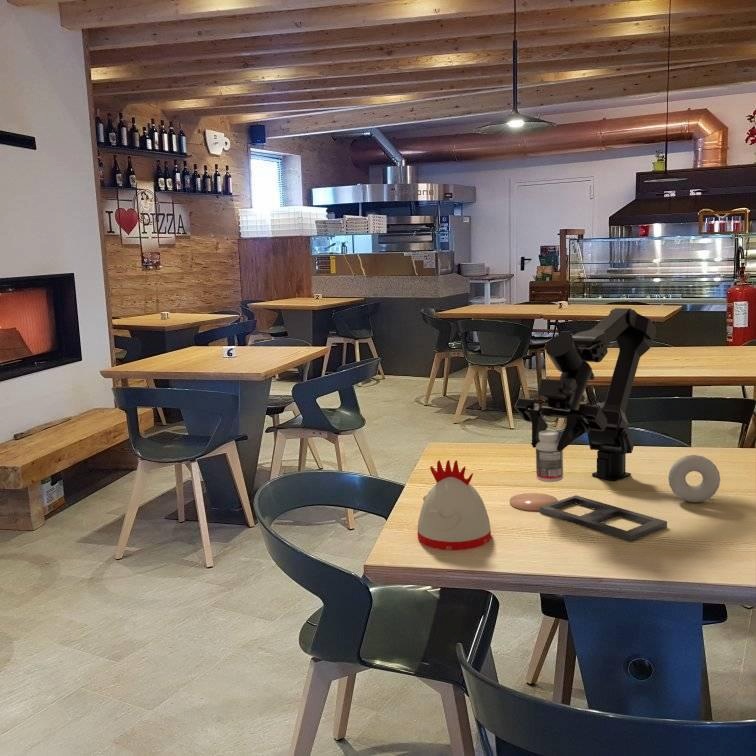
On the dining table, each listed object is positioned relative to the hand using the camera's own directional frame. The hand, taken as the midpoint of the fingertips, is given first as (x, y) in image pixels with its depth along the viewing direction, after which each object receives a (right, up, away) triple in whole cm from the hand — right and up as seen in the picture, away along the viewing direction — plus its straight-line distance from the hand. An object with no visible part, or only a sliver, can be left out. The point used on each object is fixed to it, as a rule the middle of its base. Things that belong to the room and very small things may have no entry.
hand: (545, 448), depth 161 cm
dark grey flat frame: (+10, -14, -4) cm, 17 cm away
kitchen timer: (-19, -16, -9) cm, 27 cm away
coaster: (-1, -12, +8) cm, 14 cm away
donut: (+31, -12, +4) cm, 34 cm away
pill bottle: (+1, -7, +2) cm, 7 cm away
